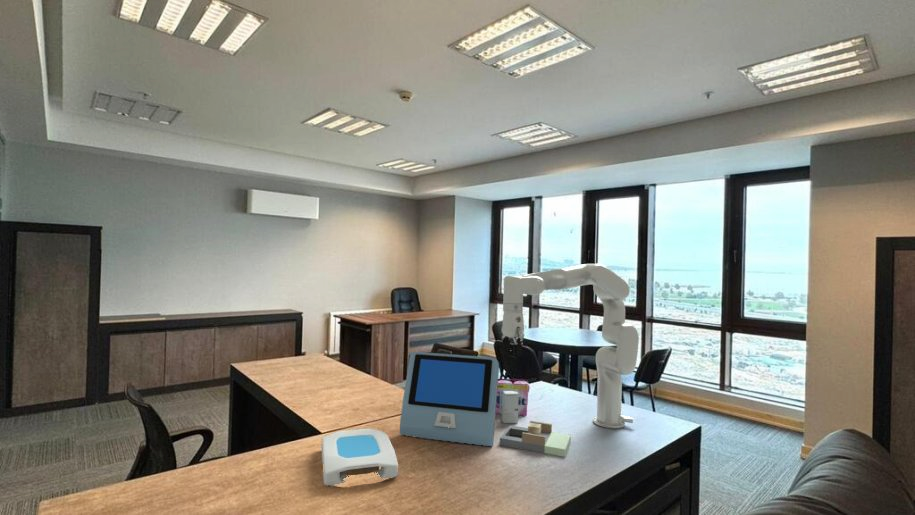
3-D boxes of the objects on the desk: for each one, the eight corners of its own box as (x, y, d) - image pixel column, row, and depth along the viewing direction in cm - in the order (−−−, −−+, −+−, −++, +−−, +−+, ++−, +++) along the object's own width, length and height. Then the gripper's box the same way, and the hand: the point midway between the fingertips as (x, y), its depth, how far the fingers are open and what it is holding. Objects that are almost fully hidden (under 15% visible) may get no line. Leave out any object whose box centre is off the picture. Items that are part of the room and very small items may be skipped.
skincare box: (503, 423, 178) (504, 393, 178) (501, 419, 182) (501, 390, 182) (518, 423, 178) (519, 393, 179) (515, 419, 183) (516, 390, 183)
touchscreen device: (397, 438, 160) (400, 355, 162) (415, 422, 179) (417, 348, 181) (491, 449, 152) (494, 362, 153) (499, 431, 171) (501, 354, 172)
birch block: (541, 435, 160) (541, 424, 160) (538, 439, 156) (539, 427, 156) (530, 433, 161) (530, 422, 161) (527, 437, 157) (528, 426, 157)
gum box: (529, 410, 196) (529, 379, 196) (530, 416, 188) (530, 384, 188) (475, 407, 198) (476, 377, 198) (474, 412, 190) (475, 381, 191)
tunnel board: (570, 441, 160) (570, 426, 161) (565, 456, 147) (565, 440, 148) (509, 431, 169) (510, 417, 169) (499, 445, 156) (500, 429, 156)
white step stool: (323, 491, 122) (324, 468, 122) (321, 450, 148) (321, 432, 148) (398, 481, 128) (398, 459, 128) (383, 444, 155) (383, 426, 155)
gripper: (532, 310, 161) (531, 356, 161) (511, 305, 177) (510, 348, 177) (514, 310, 159) (513, 357, 158) (494, 305, 175) (493, 348, 174)
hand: (511, 352), depth 167 cm, fingers open, 9 cm apart
